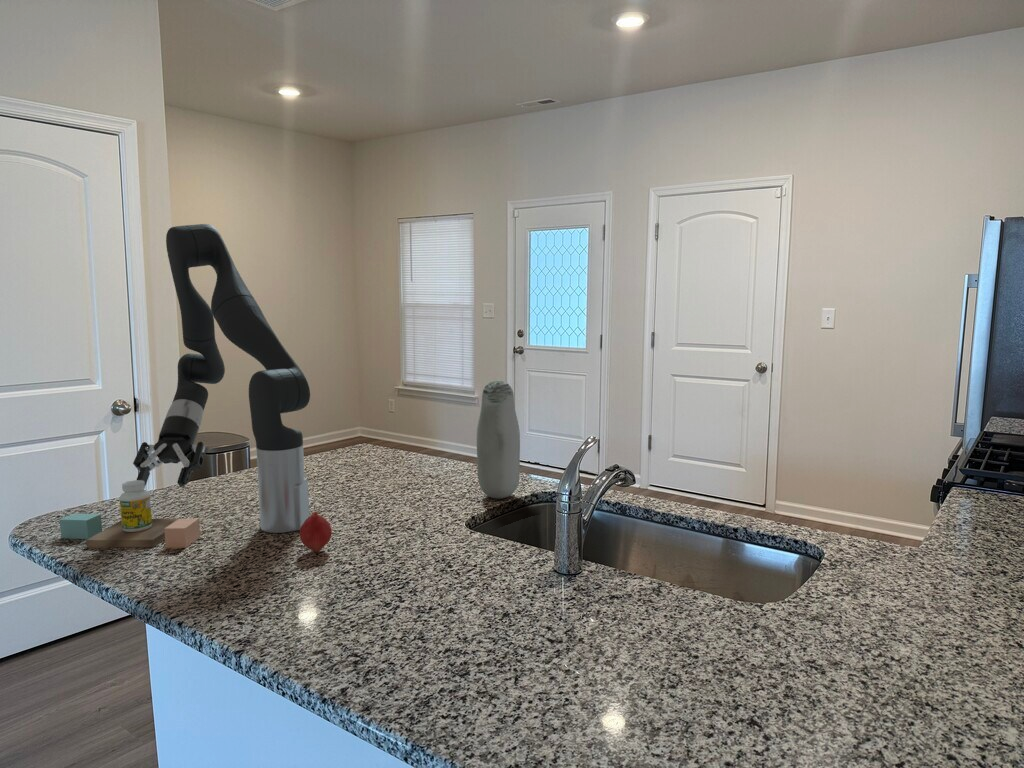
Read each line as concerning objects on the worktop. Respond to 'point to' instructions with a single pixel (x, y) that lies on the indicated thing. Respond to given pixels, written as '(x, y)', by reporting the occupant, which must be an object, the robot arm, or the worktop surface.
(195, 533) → the terracotta block
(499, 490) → the grey bottle
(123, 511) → the supplement bottle
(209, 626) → the worktop surface
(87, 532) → the teal block
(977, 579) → the worktop surface
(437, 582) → the worktop surface
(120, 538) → the walnut board
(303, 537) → the onion
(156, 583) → the worktop surface
